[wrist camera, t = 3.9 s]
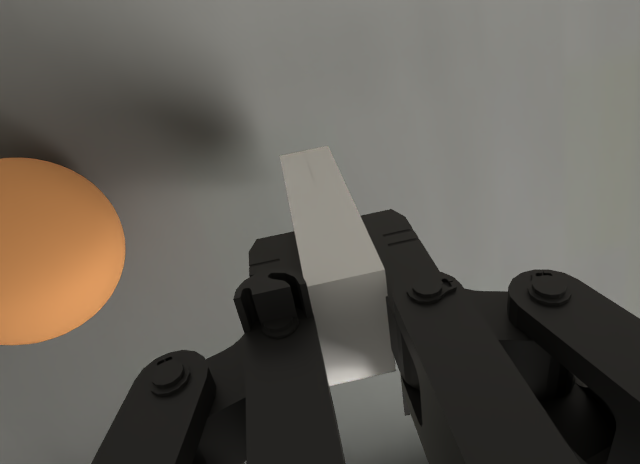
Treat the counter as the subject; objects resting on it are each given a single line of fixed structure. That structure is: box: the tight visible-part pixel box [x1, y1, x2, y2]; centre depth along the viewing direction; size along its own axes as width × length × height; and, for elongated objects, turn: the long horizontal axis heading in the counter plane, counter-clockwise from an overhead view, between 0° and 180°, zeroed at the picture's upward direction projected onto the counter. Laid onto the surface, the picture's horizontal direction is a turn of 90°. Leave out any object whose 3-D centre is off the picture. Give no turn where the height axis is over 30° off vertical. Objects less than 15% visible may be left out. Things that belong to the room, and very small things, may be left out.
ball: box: [0, 158, 125, 345], centre depth 15 cm, size 6×6×6 cm
